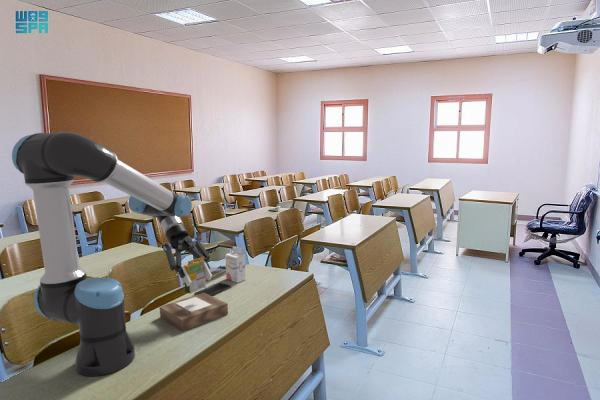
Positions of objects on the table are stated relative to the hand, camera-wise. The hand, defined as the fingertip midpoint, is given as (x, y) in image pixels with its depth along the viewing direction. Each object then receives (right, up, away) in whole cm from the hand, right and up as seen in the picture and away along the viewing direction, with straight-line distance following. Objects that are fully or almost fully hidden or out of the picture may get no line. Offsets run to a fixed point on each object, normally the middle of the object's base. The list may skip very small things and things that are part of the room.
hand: (200, 280), depth 138 cm
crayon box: (-2, -4, +3) cm, 6 cm away
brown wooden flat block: (-3, -13, +3) cm, 14 cm away
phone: (-1, -10, +27) cm, 29 cm away
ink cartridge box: (+6, -8, +41) cm, 42 cm away
